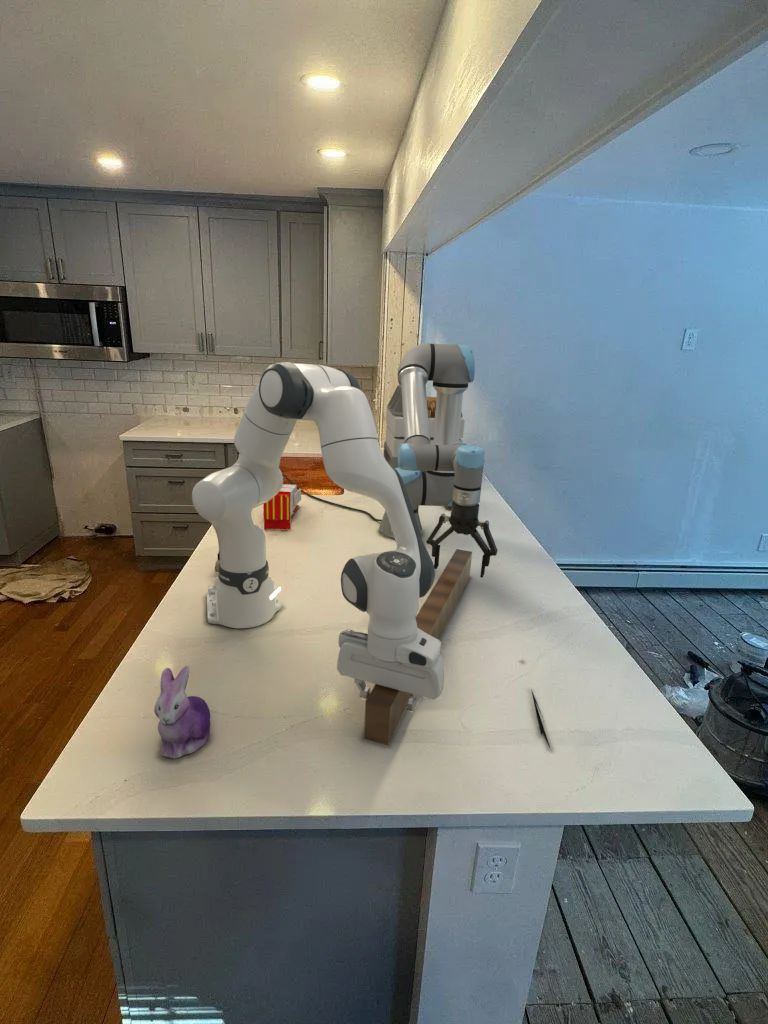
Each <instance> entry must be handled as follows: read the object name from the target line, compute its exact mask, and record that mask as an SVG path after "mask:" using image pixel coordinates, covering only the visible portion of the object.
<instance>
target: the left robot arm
mask: <svg viewBox="0 0 768 1024" xmlns="http://www.w3.org/2000/svg"><path fill="white" fill-rule="evenodd" d="M298 420H301V421H312V422H314V423H315V425H316V427H317V430H318V434H319V443H320V450H321V451H320V452H321V457H322V463H323V466H324V470H325V472H326V475H327V477H328V478H329V479H330V480H331V481H332V482H333V483H334V484H335V485H337V487H340V488H341V489H343V490H345V491H347V492H350V493H353V494H357V495H360V496H361V495H362V496H364V497H367V498H371V499H373V500H374V501H376V502H378V504H380V505H381V506H382V508H383V509H384V511H385V510H386V513H387V516H388V519H389V522H390V525H391V528H392V531H393V534H394V537H395V539H394V540H395V543H396V548H395V549H393V550H388V551H383V552H377V553H375V552H374V553H369V554H368V553H367V554H363V555H357V556H355V557H352V558H350V559H348V560H347V561H346V563H345V565H344V566H343V568H342V571H341V573H340V575H341V576H340V587H341V593H342V596H343V598H344V599H345V601H347V602H348V603H349V604H351V605H352V606H354V607H355V608H356V609H358V611H361V612H363V613H365V612H366V613H367V614H368V616H369V620H368V623H367V632H362V631H356V630H355V631H354V630H353V629H346V630H343V631H341V632H340V633H339V634H338V647H339V651H338V657H337V661H336V662H337V663H336V670H337V672H338V673H339V675H340V676H343V677H348V678H351V679H354V684H355V686H356V687H357V689H358V691H359V698H360V699H364V700H366V699H367V698H368V696H369V694H370V693H371V687H370V686H368V685H367V684H366V682H367V683H370V684H373V685H375V684H377V685H381V686H385V687H389V688H392V689H396V690H400V691H404V692H408V693H411V694H413V698H412V697H411V698H410V699H409V701H408V703H407V707H406V711H408V712H412V713H415V712H416V710H417V707H418V703H420V701H421V700H422V698H427V699H431V700H437V699H438V698H439V697H441V695H442V693H443V690H444V686H445V664H444V659H443V657H442V655H441V654H440V653H441V648H442V642H441V640H440V639H439V640H438V639H436V638H434V637H432V636H431V635H429V634H427V633H425V632H424V631H422V630H420V629H419V628H417V622H416V616H417V614H418V612H419V608H420V607H419V606H420V599H421V598H424V597H425V596H426V595H427V594H428V592H429V591H430V589H431V588H432V586H433V584H434V582H435V579H436V569H435V568H434V561H433V559H432V558H431V557H432V556H431V555H430V553H429V551H428V549H427V547H426V544H425V543H424V539H423V537H422V535H421V533H420V530H419V527H418V524H417V521H416V518H415V515H414V512H413V508H412V505H411V502H410V499H409V496H408V493H407V490H406V488H405V485H404V482H403V480H402V478H401V476H400V474H399V472H398V471H397V470H396V469H394V468H392V467H391V466H390V465H389V464H388V463H387V461H386V460H385V458H384V453H383V452H382V450H381V446H380V442H379V436H378V430H377V427H376V422H375V418H374V415H373V411H372V409H371V406H370V404H369V400H368V397H367V396H366V394H365V393H364V391H362V389H361V386H360V383H359V381H358V379H357V378H356V376H354V375H353V374H352V373H350V372H348V371H346V370H344V369H341V368H337V367H336V368H335V367H331V366H327V365H322V364H318V363H311V364H310V363H293V362H291V361H282V362H276V363H271V364H270V365H268V366H267V367H266V368H265V369H264V370H263V372H262V374H261V376H260V379H259V382H258V383H257V385H256V386H255V388H254V391H253V392H252V394H251V395H250V397H249V399H248V402H247V404H246V407H245V408H244V411H243V414H242V416H241V419H240V421H239V424H238V426H237V428H236V432H235V434H234V436H233V444H234V447H235V448H236V450H237V451H238V453H239V454H238V458H237V460H236V462H234V464H232V465H231V466H229V467H226V468H223V469H220V470H217V471H215V472H211V473H210V474H208V475H207V476H205V477H203V478H202V479H201V480H200V481H198V482H196V484H195V485H194V486H193V489H192V491H191V501H192V506H193V507H194V509H195V511H196V514H198V515H199V516H200V517H201V518H202V519H204V520H205V521H208V522H209V524H211V526H212V527H213V529H214V531H215V534H216V537H217V544H218V553H219V555H220V564H219V568H218V572H217V576H216V577H215V578H214V580H213V583H214V585H213V586H212V585H210V586H208V587H207V592H206V616H207V623H209V624H211V625H212V624H213V625H221V626H224V627H227V628H231V629H251V628H254V627H255V628H256V627H258V626H262V625H264V624H266V623H267V622H269V621H270V620H271V619H273V617H274V616H275V614H276V612H278V611H280V610H281V609H282V608H283V606H282V605H283V604H282V602H280V601H279V600H278V599H277V595H278V594H279V593H280V592H281V590H282V587H281V586H279V587H278V588H277V589H276V585H275V580H274V579H273V578H272V577H270V576H269V573H270V572H269V571H270V566H269V562H268V561H269V560H267V539H266V534H265V531H264V529H262V528H261V527H259V526H258V525H256V524H254V521H253V517H252V513H253V510H254V509H255V508H257V507H259V506H262V505H264V503H266V502H268V501H269V500H271V499H272V498H273V497H274V496H275V495H276V494H277V493H279V491H280V490H281V488H282V486H283V484H284V476H283V475H282V474H283V472H282V471H281V468H280V463H281V459H282V456H283V453H284V451H285V449H286V447H287V444H288V442H289V440H290V437H291V435H292V433H293V431H294V428H295V426H296V424H297V421H298Z"/></svg>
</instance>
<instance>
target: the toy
mask: <svg viewBox="0 0 768 1024" xmlns="http://www.w3.org/2000/svg"><path fill="white" fill-rule="evenodd" d="M297 487H298V485H297V484H295V485H292V484H284V483H283V486H282V488H281V490H280V491H279V493H277V494H276V495H275V496H274V497H273V498H272V499H271V500H269V501H268V502H266V503H264V504H263V530H286V531H287V530H288V531H290V530H291V517H292V515H293V514H295V513H296V511H298V508H299V506H300V505H299V503H300V502H301V501H302V492H301V490H302V488H300V489H299V490H298V489H297Z"/></svg>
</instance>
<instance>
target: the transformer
mask: <svg viewBox="0 0 768 1024" xmlns="http://www.w3.org/2000/svg"><path fill="white" fill-rule="evenodd" d="M436 397H437V396H427V408H428V420H429V432H430V444H432V445H433V441H434V426H435V412H436ZM385 414H386V415H385V423H386V428H385V438H384V442H383V456H384V458H385V460H386V461H387V463H388V464H389V465H390V466H391V467H392V468H394V469H395V468H398V467H399V466H398V448H399V445H400V444H404V425H403V406H402V387H401V386H400V384H398V385H397V386H396V388H395V390H394V392H393V394H392V395H391V398H390V400H389V402H388V404H387V405H386V413H385ZM464 429H465V419H464V418H463V411H461V422H460V434H459V442H461V443H464V441H463V440H462V439H463V438H464V431H465V430H464Z"/></svg>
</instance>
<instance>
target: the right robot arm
mask: <svg viewBox="0 0 768 1024" xmlns="http://www.w3.org/2000/svg"><path fill="white" fill-rule="evenodd" d="M475 363H476V362H475V355H474V351H473V349H472V347H470V346H469V345H467V344H466V345H465V344H458V343H429V342H424V343H419V344H417V345H415V346H413V347H411V348H410V349H409V350H408V351H407V352H406V353H405V354H404V355H403V357H402V358H401V360H400V362H399V365H398V367H397V383H398V385H400V386H401V387H402V406H403V425H404V444H400V445H399V448H398V466H399V467H398V468H395V469H396V470H397V471H398V472H399V474H400V476H401V478H402V480H403V482H404V485H405V488H406V490H407V493H408V496H409V499H410V502H411V505H412V508H413V512H414V515H415V518H416V521H417V524H418V527H419V530H420V533H421V536H422V535H423V525H422V524H421V518H420V515H419V507H420V506H424V507H425V506H427V507H428V506H429V507H444V506H445V507H447V506H452V509H451V510H450V515H449V516H448V515H446V514H445V513H441V514H440V516H439V518H438V522H437V524H436V526H435V527H434V528H433V530H432V532H431V533H430V534H429V536H428V538H427V539H426V541H425V543H426V544H427V545H429V546H431V555H430V556H431V557H433V558H434V561H433V564H434V568H435V570H437V568H438V567H439V565H440V553H441V544H440V543H442V542H444V540H445V539H447V538H448V537H449V536H450V535H452V534H453V533H454V532H455V533H456V534H458V535H465V536H468V535H470V537H471V539H473V540H474V541H475V542H476V544H477V545H478V547H479V548H480V550H481V551H482V553H483V555H482V557H481V568H480V575H479V578H481V579H483V578H484V576H485V573H486V567H488V568H489V566H490V564H491V557H492V556H493V557H496V556H497V554H498V552H499V551H498V547H497V545H496V542H495V539H494V537H493V535H492V532H491V530H490V521H489V520H488V519H486V520H485V521H481V520H479V511H480V504H479V503H480V502H481V494H482V483H483V475H484V465H485V463H486V462H485V461H486V460H485V453H486V452H485V449H484V448H483V447H481V446H477V445H473V444H467V443H464V442H463V443H461V442H459V434H460V422H461V418H462V417H461V412H462V409H463V408H462V407H463V398H464V397H463V396H464V393H465V391H467V390H468V389H469V383H470V384H472V383H473V382H474V380H475V375H476V364H475ZM429 381H430V382H432V388H433V389H434V390H435V391H436V396H435V397H436V412H435V426H434V441H433V445H432V444H430V432H429V420H428V408H427V397H428V396H427V387H426V385H427V384H428V382H429ZM282 476H283V478H285V479H286V480H287V481H288V482H289V484H290V485H296V484H295V483H294V482H292V480H291V479H290V478H288V476H287V475H286V474H284V473H282ZM299 489H301V488H300V487H298V486H297V491H298V490H299ZM301 493H303V494H304V495H306V496H308V497H310V498H313V499H314V500H318V501H321V502H323V503H327V504H330V505H333V506H337V507H341V508H344V509H348V510H352V511H357V512H360V513H364V514H367V515H368V516H369V517H370V518H371V519H372V520H373V521H375V522H379V525H378V533H379V534H380V535H381V536H382V537H385V538H387V539H389V540H395V537H394V534H393V531H392V528H391V525H390V522H389V519H388V516H387V513H386V510H385V509H384V513H383V515H382V519H381V518H380V519H379V518H375V517H374V516H373V515H372V513H370V512H369V511H366V510H363V509H359V508H355V507H352V506H351V507H350V506H346V505H343V504H340V503H336V502H332V501H328V500H327V499H322V498H320V497H317V496H315V495H312V494H310V493H308V492H306V491H304V490H303V489H301ZM445 507H444V508H445ZM447 522H448V523H449V524H450V527H449V528H447V529H446V530H445V531H444V532H443V533H441V535H439V537H437V538H436V539H435V540H434V538H435V537H436V535H437V534H438V532H439V531H440V529H441V528H442V526H443V525H444V524H446V523H447ZM478 527H480V529H481V530H483V535H484V537H485V539H486V542H487V543H486V542H485V540H484V539H483V537H482V536H481V535H480V533H479V530H478V529H477V528H478Z"/></svg>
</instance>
